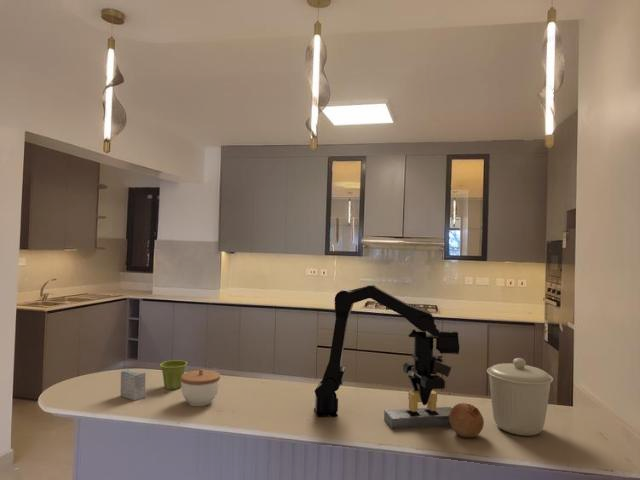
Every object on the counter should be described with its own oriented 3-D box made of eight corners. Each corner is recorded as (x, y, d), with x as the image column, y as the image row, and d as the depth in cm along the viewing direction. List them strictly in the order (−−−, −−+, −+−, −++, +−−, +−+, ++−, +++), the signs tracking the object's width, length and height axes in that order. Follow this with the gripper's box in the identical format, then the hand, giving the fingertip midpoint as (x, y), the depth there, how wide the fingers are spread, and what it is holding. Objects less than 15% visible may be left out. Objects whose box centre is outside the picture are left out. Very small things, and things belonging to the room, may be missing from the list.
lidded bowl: (200, 412, 140) (200, 377, 140) (172, 404, 146) (172, 370, 146) (227, 400, 151) (228, 368, 151) (200, 393, 157) (200, 362, 157)
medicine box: (145, 397, 152) (146, 372, 152) (134, 401, 148) (134, 375, 148) (131, 392, 156) (132, 368, 156) (119, 396, 152) (120, 371, 152)
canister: (561, 445, 122) (563, 368, 123) (492, 438, 126) (494, 364, 126) (540, 419, 140) (542, 353, 140) (480, 414, 143) (482, 349, 144)
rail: (391, 429, 131) (391, 418, 131) (384, 419, 137) (384, 409, 137) (461, 425, 134) (461, 415, 134) (450, 416, 141) (450, 406, 141)
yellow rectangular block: (411, 411, 134) (412, 394, 134) (408, 408, 137) (408, 391, 137) (436, 410, 135) (437, 393, 135) (432, 407, 138) (432, 390, 138)
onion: (478, 449, 125) (494, 423, 122) (448, 440, 125) (462, 414, 121) (469, 424, 134) (483, 399, 131) (440, 416, 133) (454, 390, 130)
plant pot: (179, 392, 158) (180, 367, 158) (154, 390, 159) (155, 366, 159) (190, 384, 167) (191, 361, 167) (167, 382, 168) (167, 359, 168)
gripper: (463, 359, 128) (461, 413, 128) (435, 344, 147) (433, 391, 147) (426, 360, 126) (425, 415, 126) (403, 345, 145) (401, 393, 145)
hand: (422, 402), depth 136 cm, fingers closed on yellow rectangular block, 3 cm apart
